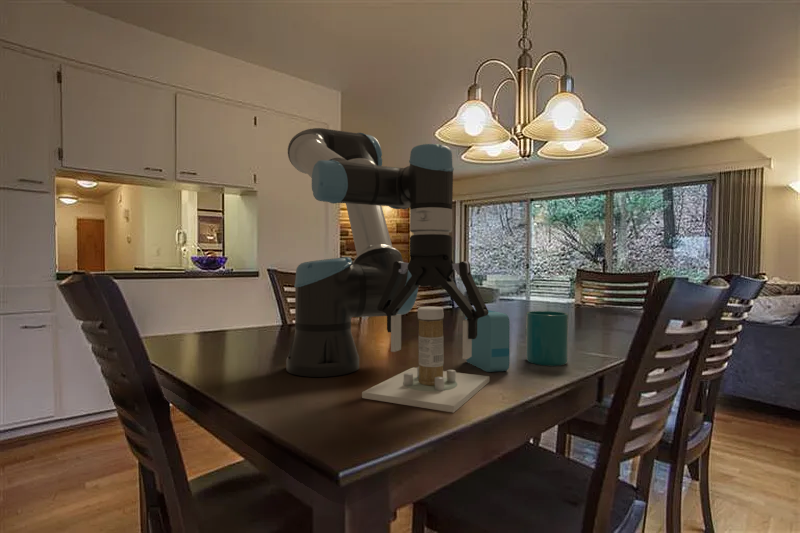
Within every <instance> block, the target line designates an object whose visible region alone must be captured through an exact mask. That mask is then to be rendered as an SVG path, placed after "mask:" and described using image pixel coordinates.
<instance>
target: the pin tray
mask: <svg viewBox="0 0 800 533" xmlns="http://www.w3.org/2000/svg"><path fill="white" fill-rule="evenodd" d="M489 383H490V376H489V375H482V374H481V375H480V374H474V373H473V374H472V373H463V372H457V371H456V370H455V369H447V370H443V377H435V386H429V385H423V384H421V383H419V366H417V367H411V368H409V369H406V370H404V371H402V372H401V373H398V374H395V375H394V376H392V377H390V378H388V379H386V380H384V381H382V382H380V383H378V384H376V385H373V386H372V387H369V388H368V389H366V390H363V391H362V392H361V398H362V399H366V400H373V401H379V402H386V403H391V404H392V403H393V404H398V405H404V406H410V407H415V408H421V409H430V410H435V411H441V412H447V413H456V411H458V409H460V408H461V407H462V406H464V404H465V403H467V402H468V401H469V400H470V399H471V398H472V397H473V396H475V395H476V394H477V393H478V392H479V391H480V390H481V389H483V388H484V387H485V386H486V385H487V384H489Z"/></svg>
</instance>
